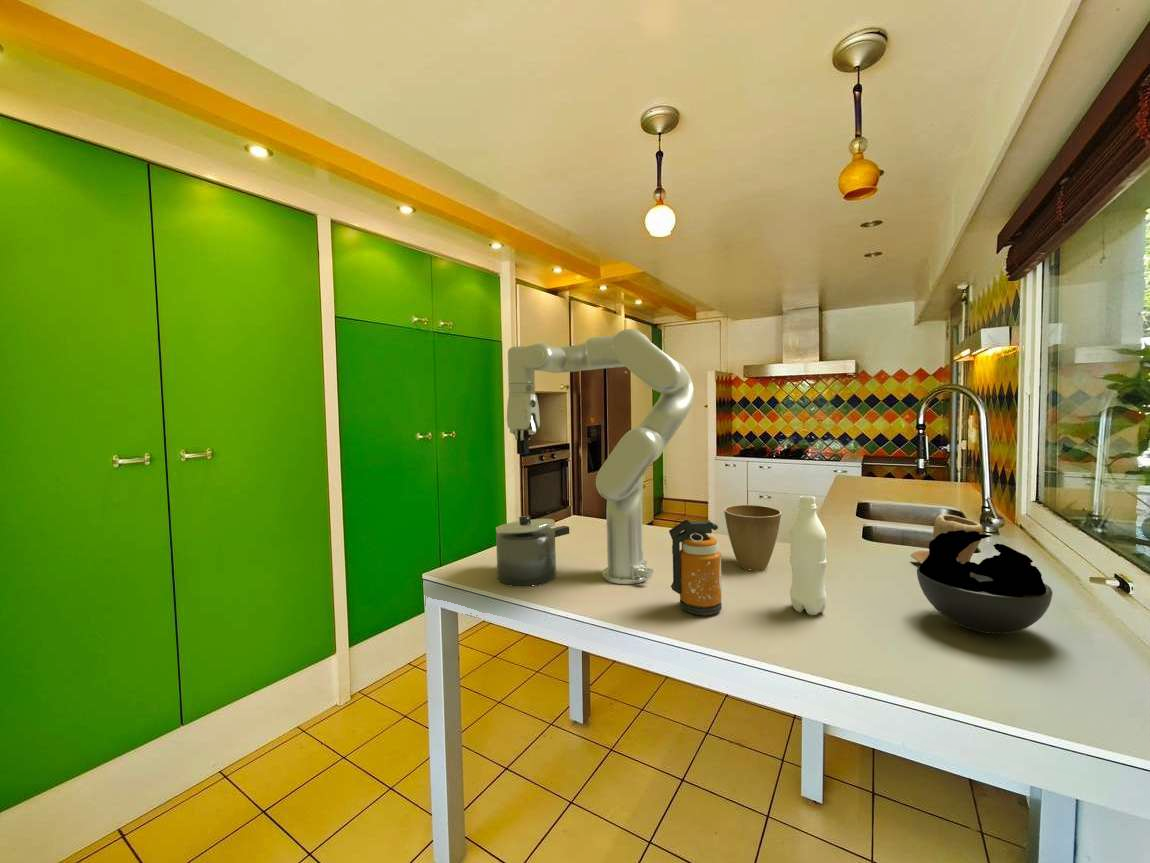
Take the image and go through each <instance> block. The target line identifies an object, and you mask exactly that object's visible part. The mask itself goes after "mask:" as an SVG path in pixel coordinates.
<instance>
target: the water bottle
mask: <svg viewBox="0 0 1150 863" xmlns="http://www.w3.org/2000/svg"><path fill="white" fill-rule="evenodd" d="M798 508H799V511H798V514H797V515H796V518H795V519H794V521H793V523H792V524H791V527H790V529H789V538H790V539H789V540H790V541H789V542H790V543H789V544H790V545H789V551H790V553H789V554H790V555H789V563H790V567H791V575H792V576H791V577H792V578H791V585H790V589H789V598H790V603H791V604H792V607H793V608H794V610H795V611H797V612H798V613H802V612H803V611H804V609H805V612H806V613H807V615H810V616H816V615H818V614H819V613H820V614H821V613H823V612H824V611H825V609H826V607H827V600H828V597H827V592H826V587H825V573H826V568H827V564H828V562H827V556H826V554H827V553H826V551H827V549H826V548H827V547H826V546H827V544H826V542H827V533H826V530H825V528H824V526H823V524H822V522H821V520H820V518H819V517H818V515H817V510H816V509H817V504H816V497H815V496H813V495H800V496H799V503H798Z"/></svg>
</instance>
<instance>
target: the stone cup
mask: <svg viewBox="0 0 1150 863" xmlns="http://www.w3.org/2000/svg"><path fill="white" fill-rule="evenodd" d="M983 528H984V527H983V525H982V524H981V523H979V522H977V521H974V520H971V519H969V518H964V517H962V516H961V517H960V516H958V515H953V514H946V513H945V514H944V513H943V514H939V515H937V517H935V519H934V523H933V532H932V537H933V539H935V537H936V536H938V535H939V534H941V533H945V534H946V533H947V532H948V531H959V530H964V531H966V532H970V531H977V532H979V534H984V529H983ZM981 540H982V539H981ZM981 540H980V541H976V542H973V543H972V544H970V545H969V546H968V547H967V548H965V549H964V550H963V551H962V552H960V553H959V556H958V557H957V558H956V560H957V561H958V562H961V563H965V562H971V559H972V557H973V554H974V553H975V551H976V550H977V548H978V547H979V545H980V543H981ZM928 555H929V550H920V551H919V550H918V551H914V552H911V554H910V557H911V558H912V559H914V560H915V561H917V562H918V563H920V565H921V564H922V563H923V561H924V560H925V559H926V558H927V557H928Z"/></svg>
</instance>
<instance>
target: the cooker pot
mask: <svg viewBox="0 0 1150 863" xmlns="http://www.w3.org/2000/svg"><path fill="white" fill-rule="evenodd" d="M569 534H570V526H567V525H561V526H557V527H553V528H552V527H551V528H547V529H544V530H539V531H534V532H527V533H519V534H498V533H496V534H495V538H496V540H495V542H496V545H495V546H496V567H497V568H496V572H497V581H498V580H499V581H500V582H501V584H502V583H503V584H502V585H504V584H506V585H505V586H508V585H512V586H511V587H514V586H530V587H533V586H532V585H537V586H540V585H539V584H542V585H544V584H543V583H545V584H547V582H548V583H550V582H551V580H552V581H553V580H555V579H556V578H557V559H556V556H557V555H556V538H558V537H562V536H566V535H569ZM499 581H498V582H499ZM549 581H550V582H549ZM500 582H499V583H500Z"/></svg>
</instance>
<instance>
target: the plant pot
mask: <svg viewBox="0 0 1150 863" xmlns="http://www.w3.org/2000/svg"><path fill="white" fill-rule="evenodd" d="M723 512H724V517H725V522H726V529H727V534H728V537H729V541H730V544H731V549H732V551H733V553H734V556H735V557H734V558H736V559H735V560H736V562H737V565H738V566H739V567H740V566H741V567H743V568H746V569H745V570H747V569H751V570H750V571H755V570H758V571H763V570H762V569H764V570H766V569H767V567H768V565H769V563H770V560H771V557H772V554H773V552H774V549H775V546H776V543H777V542H776V541H777V537H778V534H779V529H780V524H781V523H780V522H781V517H782V511H781V510H780V509H776V508H774V507H771V506H764V505H760V504H759V505H757V504H755V505H754V504H737V505H736V504H735V505H731V506H730V505H729V506H727V507H726V506H725V508H723ZM741 567H740V568H741ZM743 568H742V569H743ZM765 568H766V569H765Z"/></svg>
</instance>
